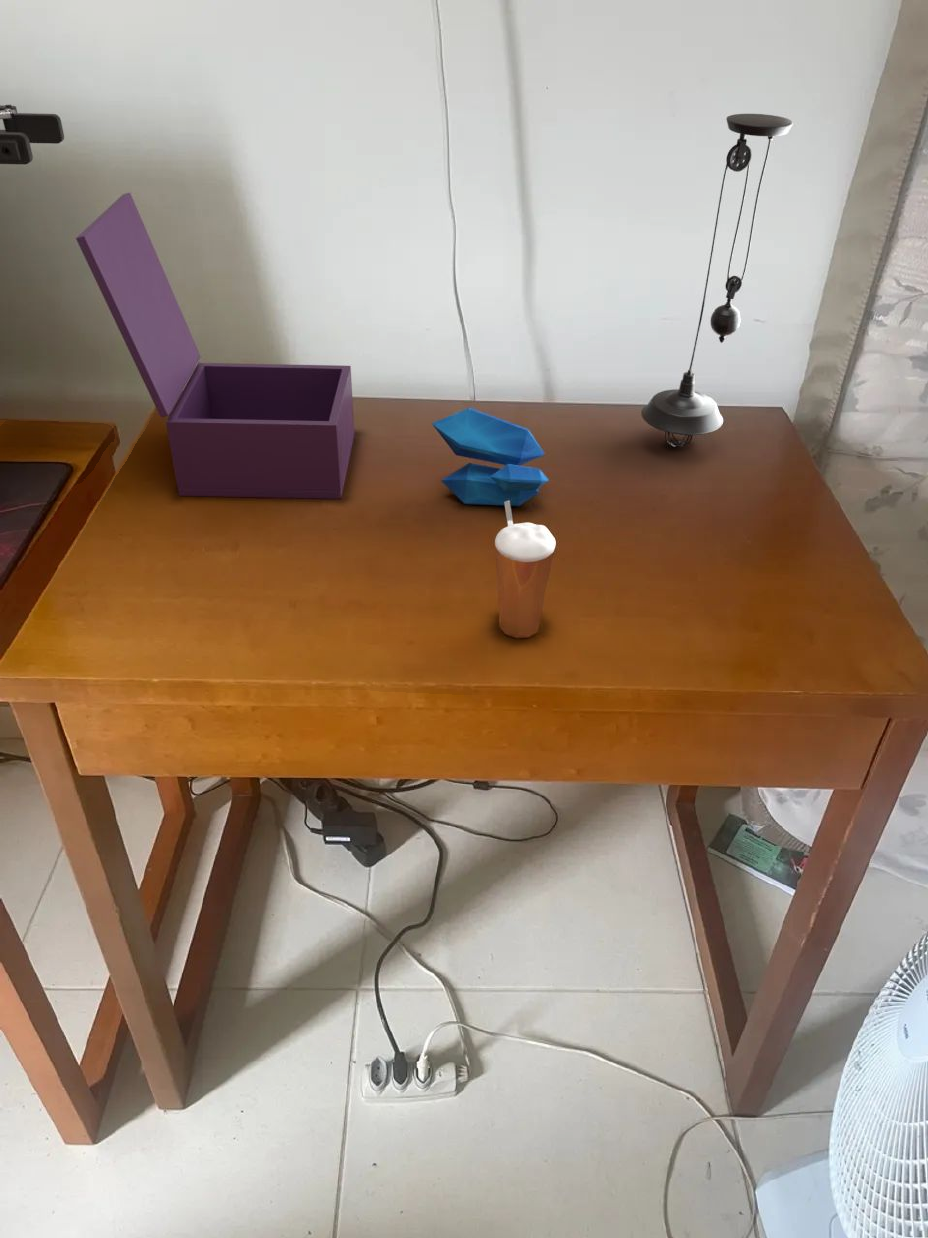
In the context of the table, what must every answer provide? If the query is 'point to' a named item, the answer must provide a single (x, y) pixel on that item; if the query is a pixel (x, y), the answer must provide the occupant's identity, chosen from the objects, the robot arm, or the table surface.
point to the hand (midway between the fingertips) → (45, 138)
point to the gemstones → (491, 459)
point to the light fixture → (684, 405)
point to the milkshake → (522, 575)
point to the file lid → (141, 301)
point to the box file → (263, 431)
